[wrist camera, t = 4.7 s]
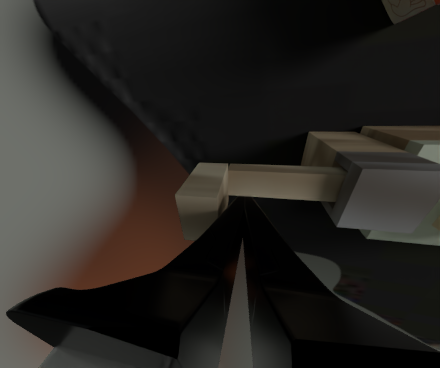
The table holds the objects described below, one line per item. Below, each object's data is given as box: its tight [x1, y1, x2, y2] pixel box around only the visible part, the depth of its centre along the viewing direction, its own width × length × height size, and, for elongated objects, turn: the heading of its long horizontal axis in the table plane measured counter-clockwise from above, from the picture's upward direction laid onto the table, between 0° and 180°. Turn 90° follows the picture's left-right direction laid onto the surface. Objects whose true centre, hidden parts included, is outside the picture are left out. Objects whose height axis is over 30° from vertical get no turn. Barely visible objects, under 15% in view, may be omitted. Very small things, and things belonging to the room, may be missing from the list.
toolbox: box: [301, 126, 440, 234], centre depth 12 cm, size 8×14×9 cm, turn 92°
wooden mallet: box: [175, 163, 348, 241], centre depth 9 cm, size 3×10×5 cm, turn 92°
